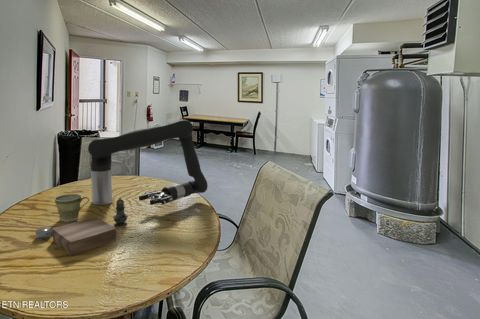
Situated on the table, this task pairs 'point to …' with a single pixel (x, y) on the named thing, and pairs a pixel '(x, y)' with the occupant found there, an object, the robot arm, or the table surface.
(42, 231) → the grey metal puck
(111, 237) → the walnut stand
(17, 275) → the table surface
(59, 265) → the table surface
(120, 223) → the salt shaker
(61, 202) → the ceramic cup
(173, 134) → the robot arm
